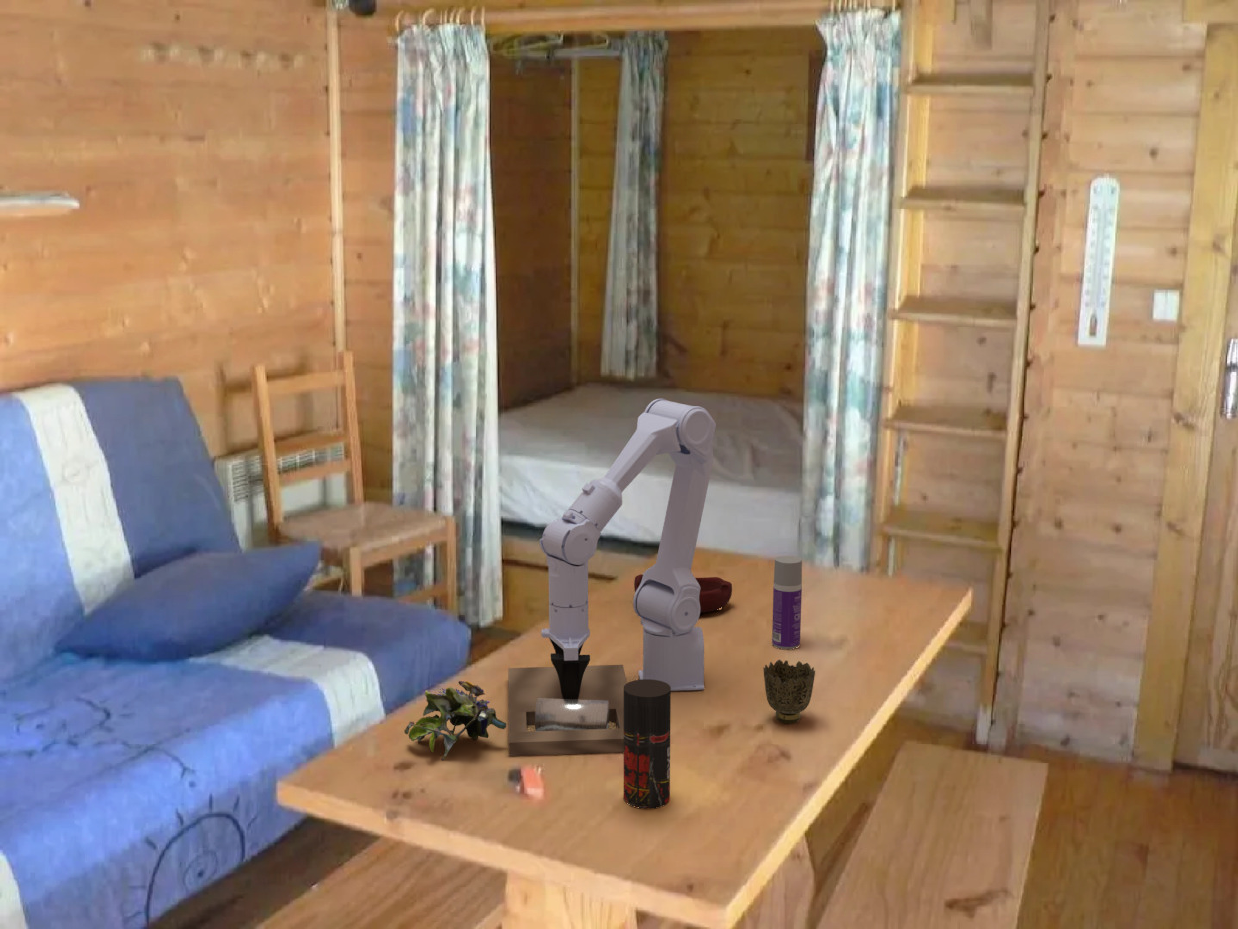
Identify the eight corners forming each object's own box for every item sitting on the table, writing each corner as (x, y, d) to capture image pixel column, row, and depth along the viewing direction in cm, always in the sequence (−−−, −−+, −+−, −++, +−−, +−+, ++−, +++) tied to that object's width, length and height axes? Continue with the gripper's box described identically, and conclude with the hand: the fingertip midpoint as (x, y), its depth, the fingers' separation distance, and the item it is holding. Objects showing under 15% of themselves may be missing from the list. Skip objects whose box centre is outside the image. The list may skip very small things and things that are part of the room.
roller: (609, 730, 197) (609, 696, 196) (605, 741, 192) (606, 706, 191) (540, 727, 198) (540, 694, 197) (534, 738, 193) (535, 703, 192)
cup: (818, 714, 202) (819, 662, 200) (808, 733, 195) (809, 680, 193) (768, 707, 204) (769, 656, 202) (756, 726, 197) (758, 674, 195)
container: (798, 650, 227) (801, 564, 224) (770, 648, 228) (772, 562, 225) (801, 641, 232) (803, 556, 228) (773, 639, 233) (775, 554, 229)
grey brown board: (622, 676, 216) (622, 664, 216) (640, 751, 189) (640, 738, 188) (508, 680, 215) (508, 668, 214) (509, 756, 187) (508, 742, 187)
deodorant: (621, 788, 178) (621, 680, 175) (667, 787, 178) (667, 678, 175) (625, 810, 172) (625, 697, 169) (672, 808, 173) (673, 696, 169)
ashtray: (607, 612, 247) (607, 586, 246) (657, 589, 260) (657, 564, 259) (691, 632, 237) (692, 604, 236) (739, 607, 250) (739, 580, 249)
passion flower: (473, 775, 194) (522, 712, 192) (441, 794, 184) (492, 728, 181) (415, 722, 197) (463, 659, 194) (381, 738, 186) (430, 672, 184)
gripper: (539, 587, 206) (540, 672, 208) (542, 618, 191) (543, 709, 194) (586, 586, 206) (587, 671, 209) (592, 617, 192) (593, 708, 195)
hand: (569, 689), depth 202 cm, fingers open, 7 cm apart
